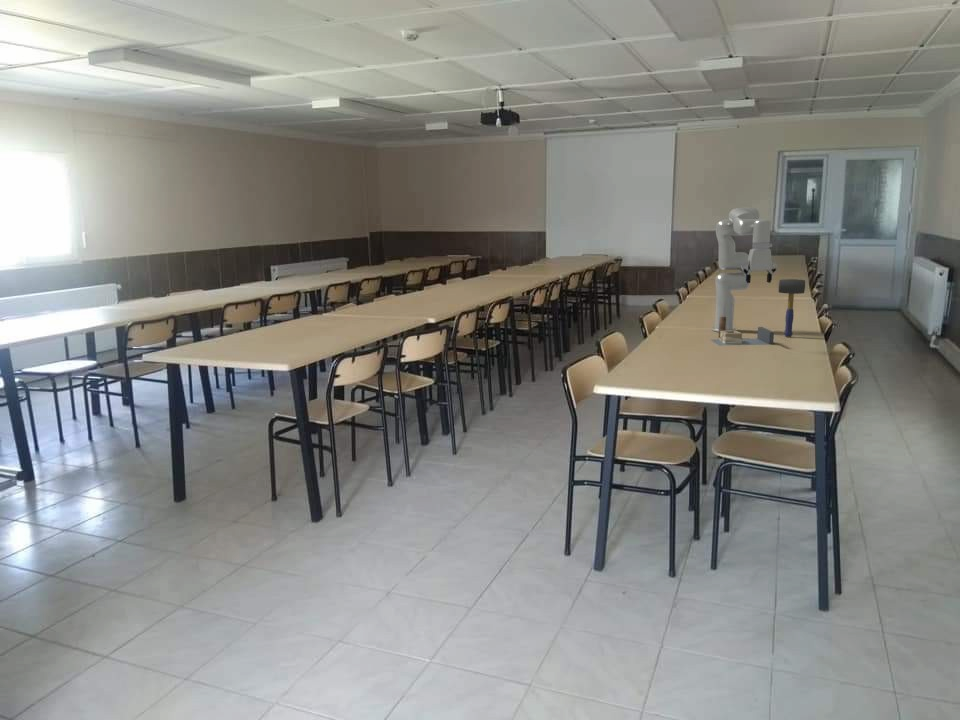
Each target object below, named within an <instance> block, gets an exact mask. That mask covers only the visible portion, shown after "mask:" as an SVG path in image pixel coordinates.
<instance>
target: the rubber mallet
mask: <svg viewBox="0 0 960 720" xmlns="http://www.w3.org/2000/svg"><path fill="white" fill-rule="evenodd" d="M805 290H806V280H805V279H799V278H797V279H796V278H795V279H794V278H791V279H790V278H789V279H788V278H786V279H779V282H778V293H779V294H788V296H787V298H788V299H787V308H786V312H785V326H784V327H785V329H784V333H783V334H784V337H786V338H791V337H792V336H793V323H794V316H795V315H794V297H795V294H797V295H798V294H804V293H805Z"/></svg>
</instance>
